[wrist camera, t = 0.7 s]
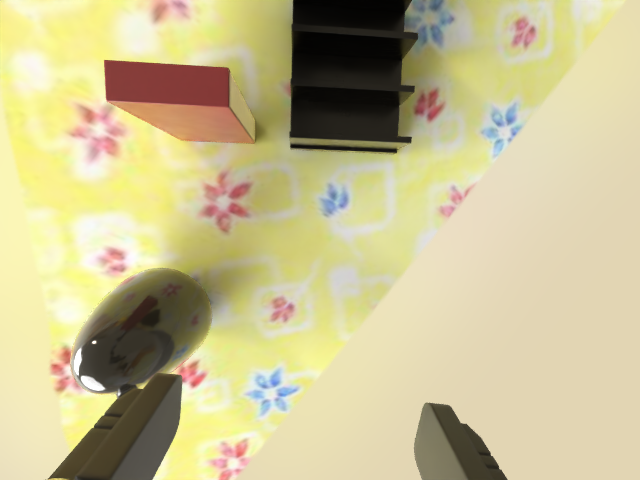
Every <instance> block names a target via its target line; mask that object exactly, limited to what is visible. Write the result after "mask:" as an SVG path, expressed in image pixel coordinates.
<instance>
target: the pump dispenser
mask: <svg viewBox="0 0 640 480" xmlns="http://www.w3.org/2000/svg"><path fill="white" fill-rule="evenodd" d="M211 322H212V309H211V304H210V301H209V298H208V296H207V294H206V292H205V291H204V289H203V288H202V286H201V285H200V284H199V283H198V282H197V281H196V280H194V279H193V278H191V277H190V276H188V275H187V274H185V273H182V272H180V271H177V270H174V269H168V268H153V269H148V270H144V271H141V272H139V273H137V274H135V275H133V276H131V277H129V278H127V279H126V280H124V281H123V282H121V283H120V284H119V285H118V286H116V287H115V288H114V289H113V290H111V291H110V292H109V293H108V294H107V295H106V296H105V297H104V298H103V299H102V300H101V301H100V302H99V303H98V304H97V306H96V307H95V308H94V309H93V311H92V312H91V313H90V315H89V316H88V318H87V319H86V321H85V322H84V324H83V326H82V327H81V329H80V331H79V333H78V335H77V337H76V339H75V342H74V344H73V348H72V352H71V359H70V366H71V372H72V375H73V377H74V379H75V381H76V382H77V383H78V384H79V385H80V386H81V387H82V388H83V389H85V390H86V391H88V392H91V393H94V394H100V395H112V394H116V395H117V399H118V398H119V397H121V396H122V395H124V394H126V393H127V392H129V391H130V390H132V389H133V388H139V389H140V388H142V387H145V386H146V384H147V383H148V382H149V381H150V379H151V378H152V377H153V376H154V374H156V373H166V374H170V373H171V372H173V371H174V370H176V369H177V368H178V367H179V366H181V365H182V364H183V363H184V362H185V361H186V360H188V359H189V358H190V357H191V356H192V355H193V354H194V353H195V352H196V351H197V350H198V348H199V347H200V346H201V345H202V343H203V342H204V340H205V339H206V337H207V335H208V333H209V330H210V327H211Z"/></svg>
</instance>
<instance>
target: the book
mask: <svg viewBox="0 0 640 480" xmlns="http://www.w3.org/2000/svg"><path fill="white" fill-rule="evenodd" d="M104 68H105V88H106V101H107V102H109V103H111V104H113V105H115V106H117V107H119V108H121V109H123V110H124V111H126V112H128V113H130V114H132V115H134V116H136V117H138V118H140V119H142V120H144V121H145V122H147V123H149V124H151V125H153V126H155V127H157V128H159V129H161V130H163V131H165V132H166V133H168V134H170V135H172V136H174V137H176V138H178V139H180V140H185V141H207V142H230V143H253V144H254V143H255V119H254V117H253V116H252V114H251V112H250V110H249V108H248V106H247V104H246V102H245V100H244V98H243V96H242V94H241V92H240V90H239V88H238V86H237V84H236V82H235V80H234V78H233V76H232V74H231V72H230V70H229V68H225V67H209V66H193V65H177V64H161V63H145V62H128V61H112V60H104Z"/></svg>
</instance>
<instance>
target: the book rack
mask: <svg viewBox="0 0 640 480" xmlns="http://www.w3.org/2000/svg"><path fill="white" fill-rule="evenodd" d="M411 1H412V0H293V24H292V79H291V131H290V149H291V150H309V151H332V152H356V153H379V154H395V153H397V150H398V149H400V148H402V147H404V146H406V145H408V144H410V143H411V139H412V137H401V136H398V122H399V106H400V105H401V104H402V103H403V102H404V101H405V100H406V99H407V98H409V97H410V96H411V95H412V94H413V93H414V92H415V86H407V85H401V71H402V59H403V58H404V57H405V55H406V54H407V53H408V51H409V50H410V49H411V47H412V46H413V45H414V44H415V42H416V41H417V40H418V33H413V32H404V19H405V11H406V10H407V8H408V6H409V5H410V3H411Z"/></svg>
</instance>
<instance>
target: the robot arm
mask: <svg viewBox="0 0 640 480" xmlns="http://www.w3.org/2000/svg"><path fill="white" fill-rule="evenodd" d="M181 393H182V376H181V375H175V374H166V373H156V374H154V376H153V377H152V378H151V379H150V381H149V382H148V383H147V384H146V386H145V387H144V388H143V389H139V388H133V389H132V390H130V391H129V392H127V393H126V394H124V395H122V396H121V397H119V398H118V399H117V400H116V401H115V402H114V403H113V404H112V405H111V407H110V408H109V409H108V410H107V411H106V412H105V415H104V416H102V417H101V418H100V419H99V420H98V422H97V423H96V424H95V426H94V428H92V429H91V430H90V431H89V432H88V433H87V434H86V436H85V437H84V438H83V439H82V440H81V441H80V443H79V444H78V445H77V446H76V447H75V448H74V449H73V451H72V452H71V453H70V454H69V455H68V456H67V458H66V459H65V460H64V461H63V462H62V463H61V465H60V466H59V467H58V468H57V469H56V471H55V472H54V473H53V474H52V475H51V476H50V477H49V478H48V479H47V480H152V479H153V477H154V476H155V474H156V472H157V470H158V468H159V466H160V464H161V462H162V460H163V458H164V456H165V454H166V452H167V451H168V449H169V447H170V445H171V443H172V441H173V439H174V437H175V434H176V432H177V428H178V425H179V420H180V410H181ZM414 453H415V460H416V463H417V467H418V469H419V472H420V475H421V478H422V480H507V478H506V477H505V475H504V473H503V472H502V470H500V469H499V466H498V464H497V462H496V461H495V459H494V458H493V456H491V453H490V451H489V450H488V448H487V447H486V445H485V444H484V442H483V440H482V439H481V437H479V436H478V435H477V434H476V433H475V432H474V431H473V430H472V429H471V428H470V427H469V426H468V425H467V424H462V423H460V421H459V419H458V418H457V416H456V414H455V413H454V411H453V410H452V408H451V407H450V406H449V405H444V404H434V403H425V404H424V406H423V409H422V413H421V417H420V421H419V425H418V430H417V434H416V438H415V444H414Z"/></svg>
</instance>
